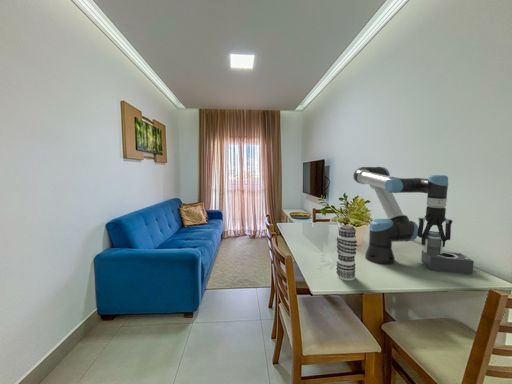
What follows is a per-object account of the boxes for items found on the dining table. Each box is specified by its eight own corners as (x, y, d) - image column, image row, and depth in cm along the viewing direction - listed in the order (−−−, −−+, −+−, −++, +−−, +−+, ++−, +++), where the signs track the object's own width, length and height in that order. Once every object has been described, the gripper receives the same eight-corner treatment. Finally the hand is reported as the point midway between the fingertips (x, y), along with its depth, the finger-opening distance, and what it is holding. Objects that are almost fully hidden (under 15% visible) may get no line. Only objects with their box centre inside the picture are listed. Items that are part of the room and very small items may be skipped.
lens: (427, 254, 114) (429, 234, 113) (423, 250, 119) (424, 231, 118) (441, 255, 112) (443, 235, 111) (436, 251, 117) (438, 232, 116)
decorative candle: (332, 276, 113) (333, 226, 111) (340, 271, 119) (342, 223, 117) (350, 282, 106) (352, 229, 104) (358, 276, 113) (360, 226, 111)
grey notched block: (430, 270, 120) (430, 256, 120) (421, 261, 132) (422, 248, 131) (472, 274, 115) (473, 259, 114) (459, 265, 126) (460, 252, 126)
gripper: (416, 206, 112) (413, 252, 115) (463, 208, 107) (458, 257, 109) (411, 204, 119) (408, 247, 122) (455, 206, 114) (450, 251, 116)
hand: (432, 252), depth 115 cm, fingers closed on lens, 6 cm apart
